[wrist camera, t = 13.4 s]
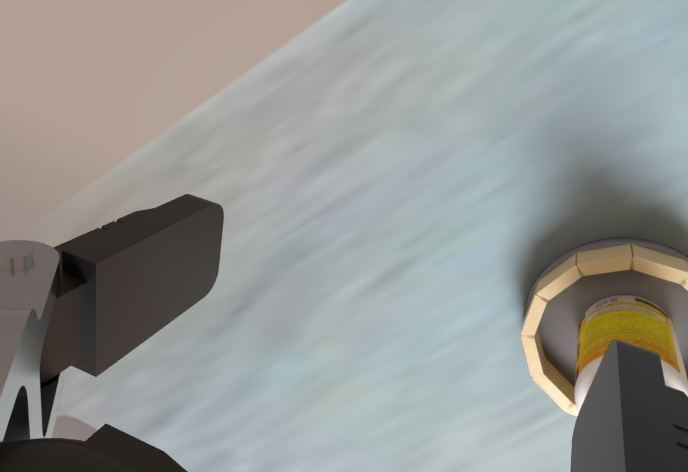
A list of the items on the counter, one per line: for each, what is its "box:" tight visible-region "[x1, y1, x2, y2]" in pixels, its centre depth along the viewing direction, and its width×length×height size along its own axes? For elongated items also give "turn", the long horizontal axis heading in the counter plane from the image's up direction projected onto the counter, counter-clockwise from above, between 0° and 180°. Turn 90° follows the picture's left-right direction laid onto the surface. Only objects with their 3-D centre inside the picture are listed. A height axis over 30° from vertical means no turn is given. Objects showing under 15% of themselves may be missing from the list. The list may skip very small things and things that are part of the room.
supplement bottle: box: [574, 295, 688, 413], centre depth 33 cm, size 6×6×10 cm
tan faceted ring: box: [521, 238, 688, 417], centre depth 37 cm, size 12×12×3 cm
